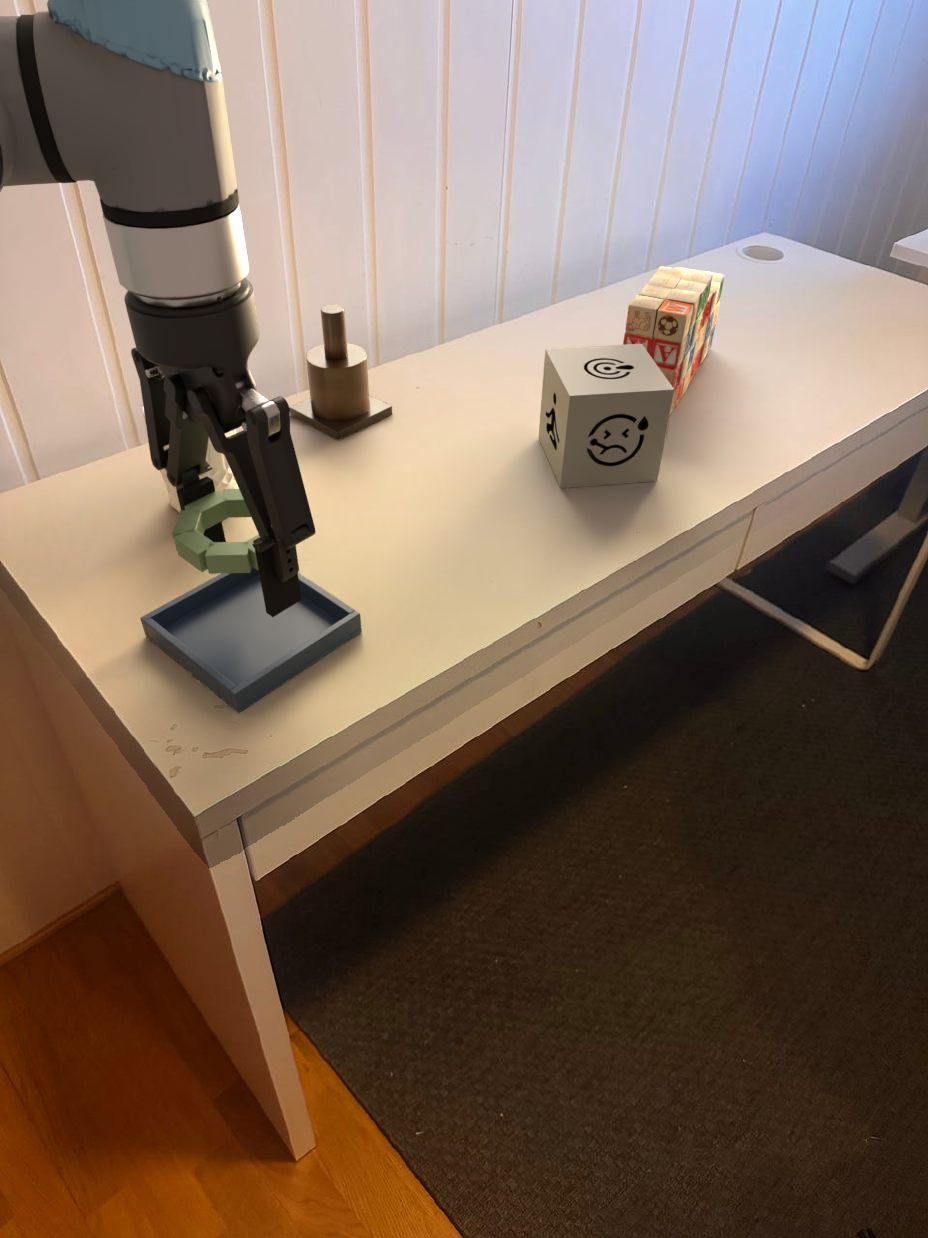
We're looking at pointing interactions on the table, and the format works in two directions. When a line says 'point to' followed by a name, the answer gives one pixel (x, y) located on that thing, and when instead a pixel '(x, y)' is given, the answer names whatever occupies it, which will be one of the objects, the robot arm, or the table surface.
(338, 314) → the peg stand
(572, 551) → the table surface
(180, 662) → the tray
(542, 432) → the icon cube
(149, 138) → the robot arm
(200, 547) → the ring
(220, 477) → the white cup
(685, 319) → the stack of blocks
